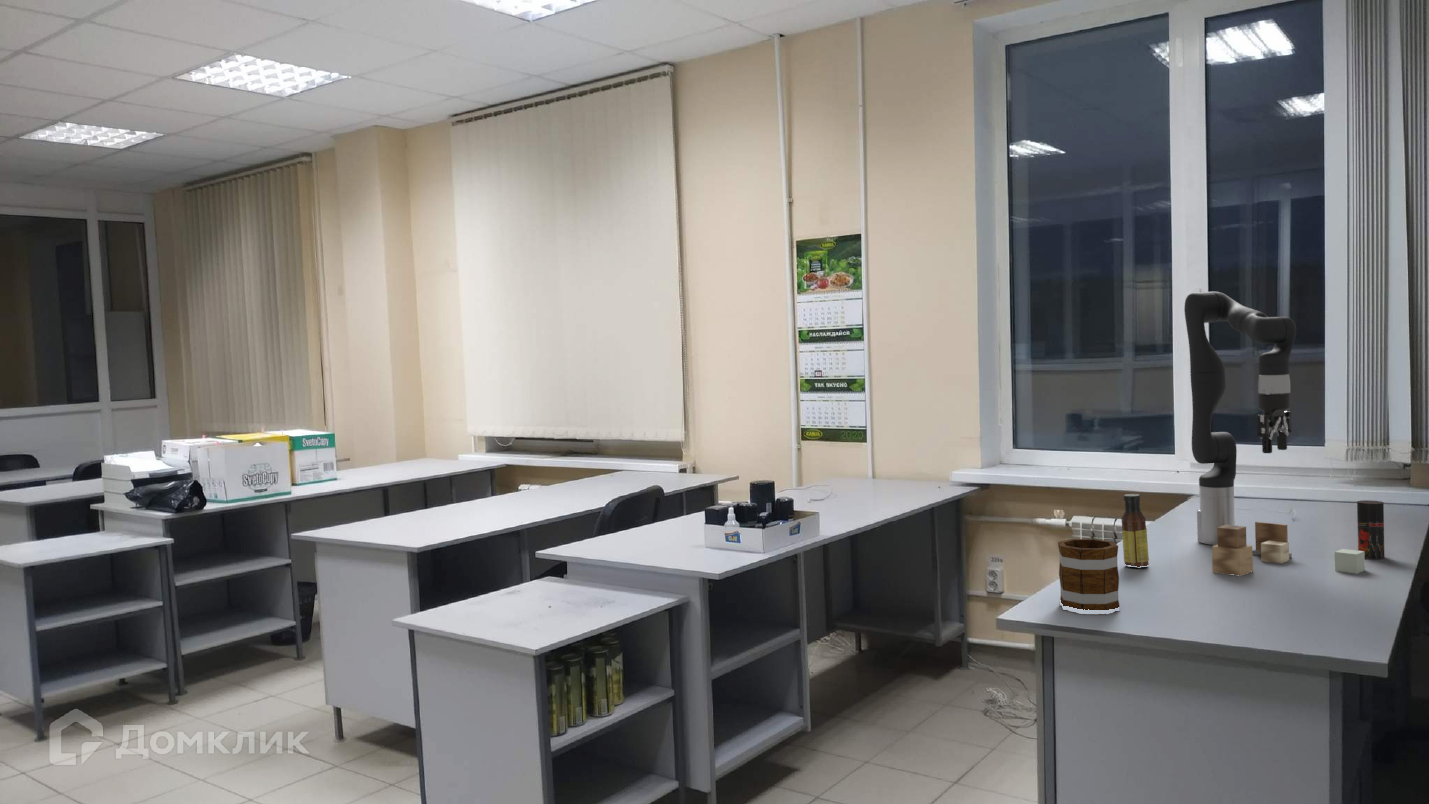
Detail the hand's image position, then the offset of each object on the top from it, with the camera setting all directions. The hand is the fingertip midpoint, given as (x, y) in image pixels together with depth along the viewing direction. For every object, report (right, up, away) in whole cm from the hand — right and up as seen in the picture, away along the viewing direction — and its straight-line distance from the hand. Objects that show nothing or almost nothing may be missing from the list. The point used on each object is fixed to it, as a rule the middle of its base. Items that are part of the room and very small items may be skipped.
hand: (1274, 451), depth 256 cm
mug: (-62, -35, -32) cm, 77 cm away
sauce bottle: (-36, -32, +4) cm, 48 cm away
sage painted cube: (+13, -30, -11) cm, 35 cm away
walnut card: (+4, -30, +9) cm, 31 cm away
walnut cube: (-15, -24, -7) cm, 30 cm away
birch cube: (+2, -30, +3) cm, 30 cm away
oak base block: (-15, -31, -7) cm, 36 cm away
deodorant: (+28, -29, +2) cm, 40 cm away
